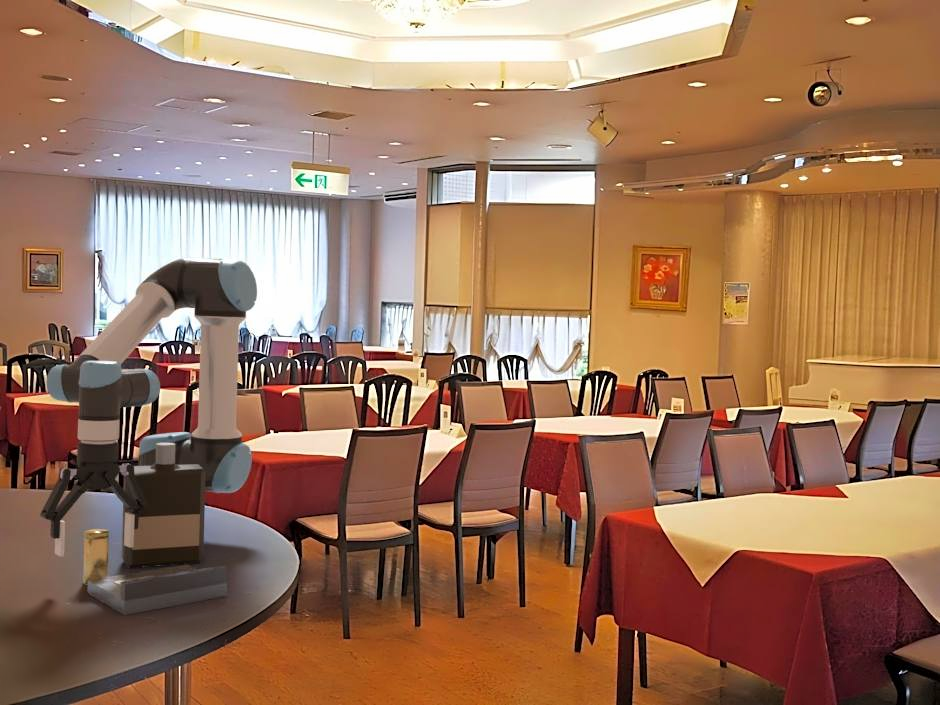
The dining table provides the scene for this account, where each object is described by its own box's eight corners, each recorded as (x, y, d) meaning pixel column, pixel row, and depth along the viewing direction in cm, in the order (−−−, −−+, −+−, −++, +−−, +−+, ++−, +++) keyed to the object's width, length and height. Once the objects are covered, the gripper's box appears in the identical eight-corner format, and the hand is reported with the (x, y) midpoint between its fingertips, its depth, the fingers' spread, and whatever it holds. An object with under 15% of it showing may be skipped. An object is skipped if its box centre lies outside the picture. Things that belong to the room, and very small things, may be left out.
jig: (186, 576, 203) (187, 549, 203) (226, 595, 191) (227, 567, 191) (87, 593, 190) (88, 564, 189) (124, 615, 178) (124, 584, 178)
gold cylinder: (101, 578, 200) (102, 528, 199) (111, 583, 197) (112, 532, 196) (79, 581, 197) (80, 530, 196) (88, 587, 194) (89, 535, 193)
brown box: (120, 559, 214) (123, 442, 213) (198, 554, 221) (201, 440, 219) (125, 569, 207) (127, 447, 205) (204, 563, 213) (208, 445, 212)
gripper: (150, 435, 206) (147, 539, 207) (24, 442, 189) (21, 554, 190) (167, 440, 201) (164, 546, 202) (39, 447, 184) (35, 563, 185)
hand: (94, 550), depth 196 cm, fingers open, 13 cm apart
